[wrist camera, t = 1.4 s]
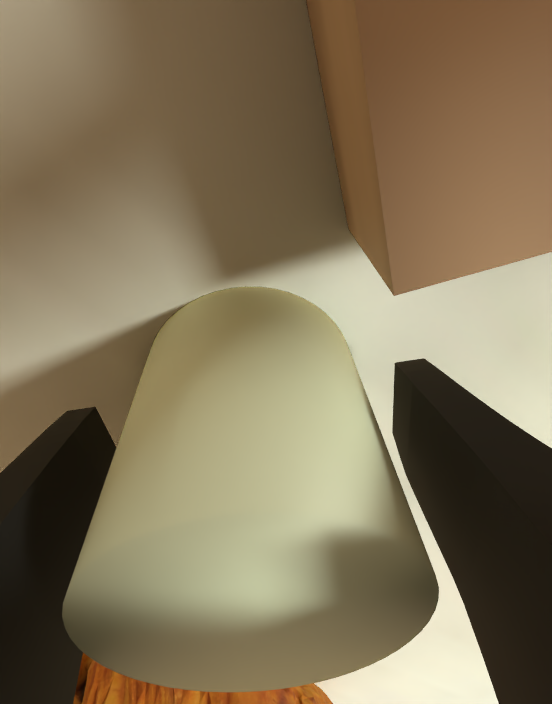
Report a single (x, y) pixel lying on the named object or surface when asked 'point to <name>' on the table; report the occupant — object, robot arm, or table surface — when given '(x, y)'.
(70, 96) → the table surface
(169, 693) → the croissant
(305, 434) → the sage cylinder
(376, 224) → the walnut base
